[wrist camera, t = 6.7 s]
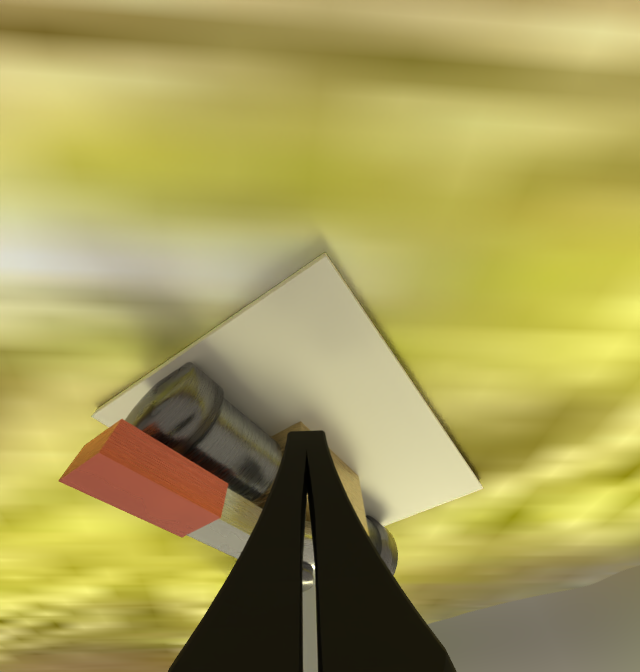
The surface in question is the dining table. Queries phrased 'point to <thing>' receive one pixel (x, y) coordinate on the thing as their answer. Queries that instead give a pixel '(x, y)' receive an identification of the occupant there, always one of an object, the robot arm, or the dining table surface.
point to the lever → (169, 491)
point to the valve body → (234, 444)
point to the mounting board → (326, 390)
